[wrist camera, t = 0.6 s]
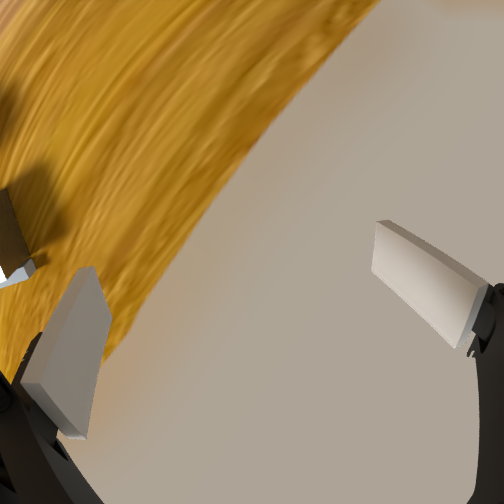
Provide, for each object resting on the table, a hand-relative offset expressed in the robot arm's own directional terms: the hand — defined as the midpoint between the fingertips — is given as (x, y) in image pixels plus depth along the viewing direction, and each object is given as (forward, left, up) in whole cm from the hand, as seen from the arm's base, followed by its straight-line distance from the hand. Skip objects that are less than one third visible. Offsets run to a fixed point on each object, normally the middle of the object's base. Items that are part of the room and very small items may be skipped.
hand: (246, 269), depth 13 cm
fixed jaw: (-2, -31, -27) cm, 41 cm away
